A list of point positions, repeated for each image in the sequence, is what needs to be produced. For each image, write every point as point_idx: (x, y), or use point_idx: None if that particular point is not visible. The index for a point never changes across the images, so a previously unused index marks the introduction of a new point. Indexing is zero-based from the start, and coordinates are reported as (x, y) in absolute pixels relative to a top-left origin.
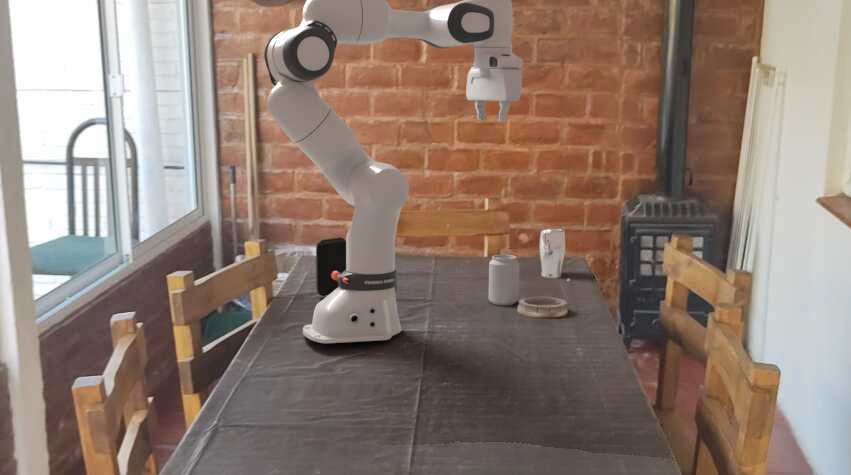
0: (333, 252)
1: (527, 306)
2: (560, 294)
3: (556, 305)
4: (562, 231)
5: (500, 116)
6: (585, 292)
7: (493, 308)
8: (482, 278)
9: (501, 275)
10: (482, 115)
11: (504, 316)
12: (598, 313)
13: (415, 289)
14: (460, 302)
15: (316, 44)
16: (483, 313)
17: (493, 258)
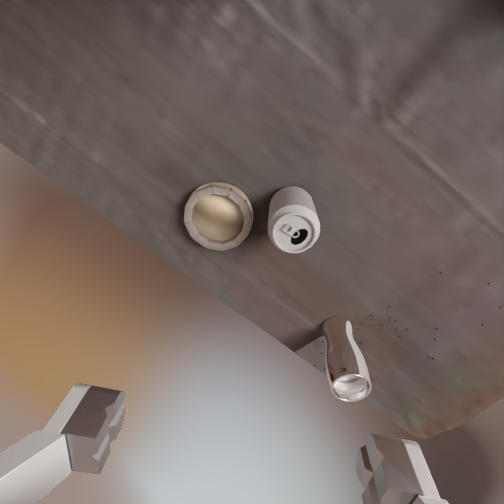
0: None
1: (209, 186)
2: (283, 297)
3: (189, 219)
4: (343, 398)
5: (56, 409)
6: (273, 326)
7: (272, 171)
8: (431, 284)
9: (277, 204)
10: (373, 474)
11: (225, 152)
12: (178, 264)
13: (458, 148)
14: (333, 153)
15: None
16: (256, 137)
17: (300, 213)
